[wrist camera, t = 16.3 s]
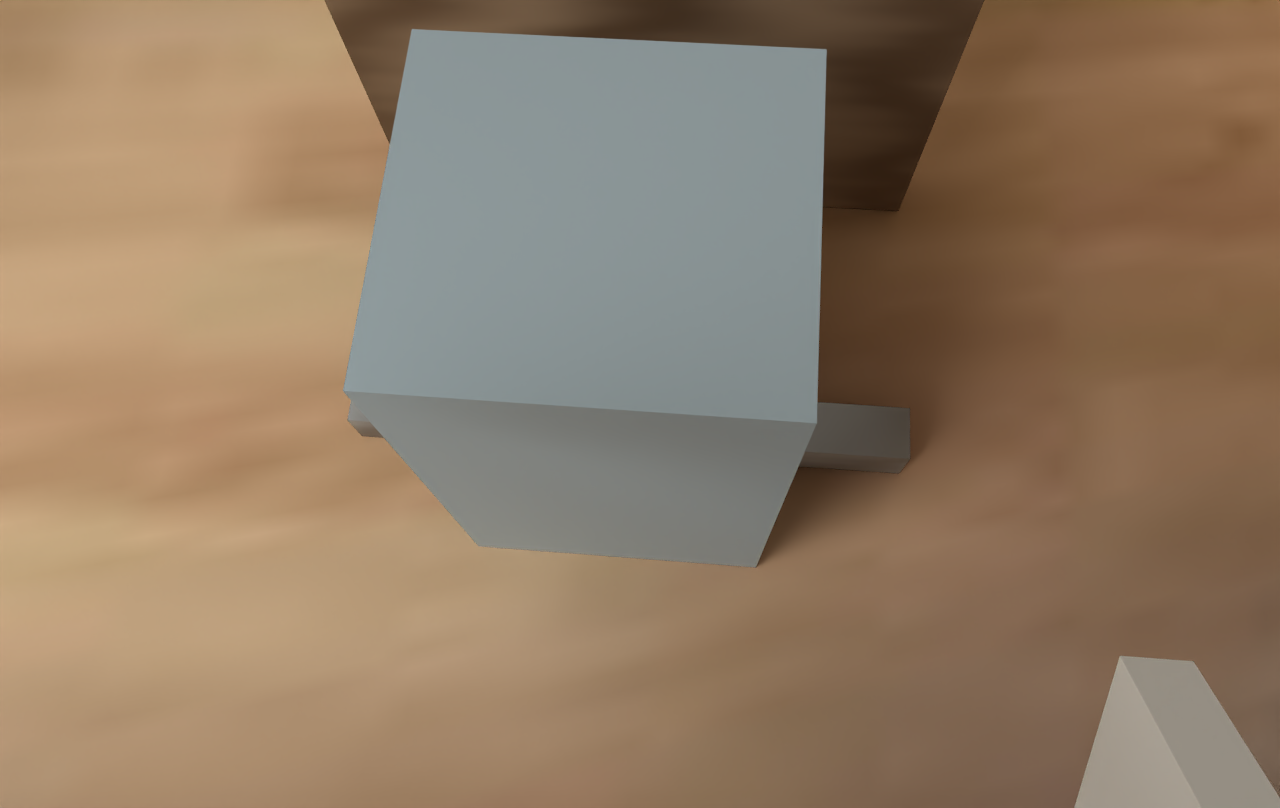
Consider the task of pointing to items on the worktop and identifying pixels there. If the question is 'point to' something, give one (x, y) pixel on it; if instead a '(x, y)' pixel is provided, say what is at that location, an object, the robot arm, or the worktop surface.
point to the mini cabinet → (599, 289)
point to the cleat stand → (756, 16)
